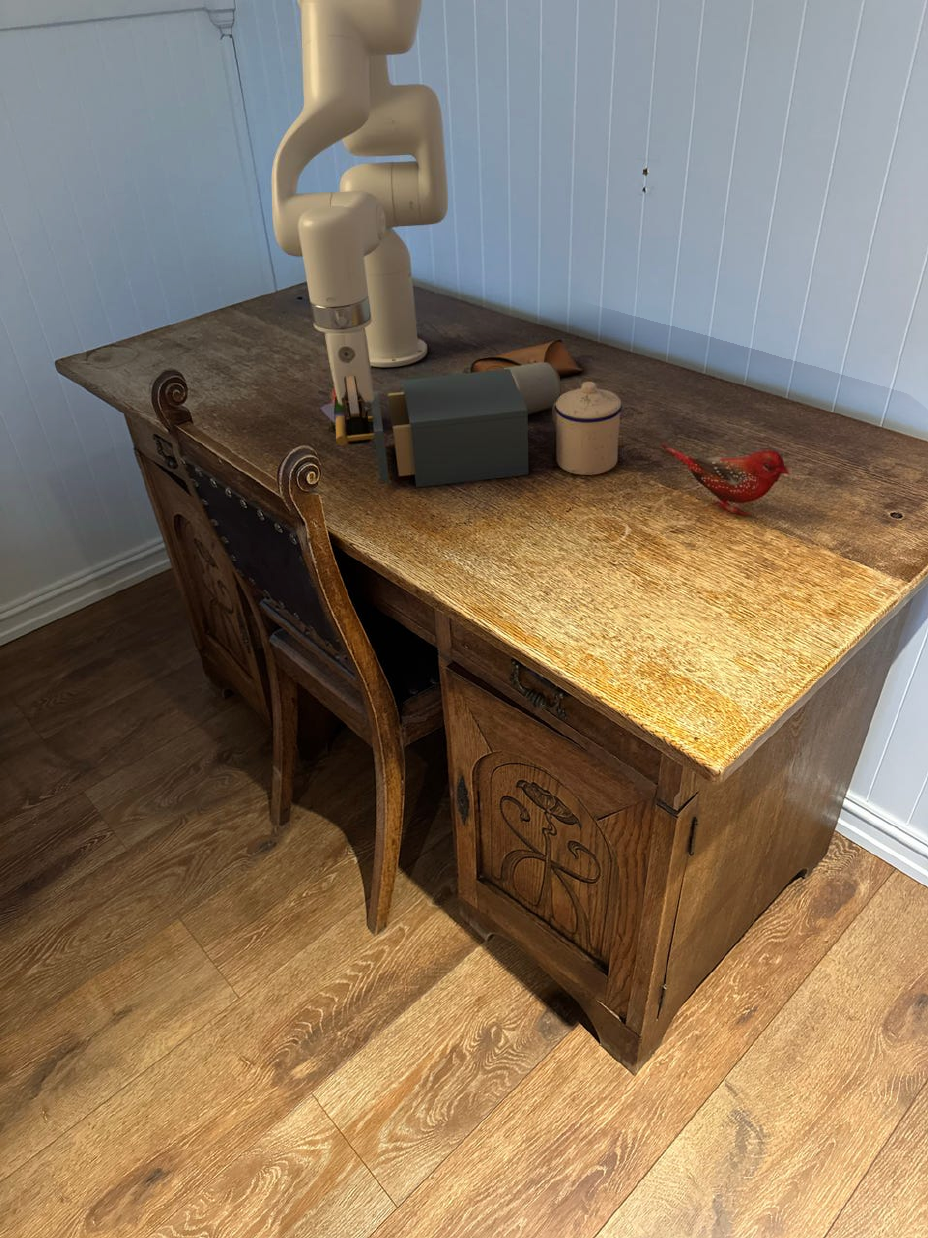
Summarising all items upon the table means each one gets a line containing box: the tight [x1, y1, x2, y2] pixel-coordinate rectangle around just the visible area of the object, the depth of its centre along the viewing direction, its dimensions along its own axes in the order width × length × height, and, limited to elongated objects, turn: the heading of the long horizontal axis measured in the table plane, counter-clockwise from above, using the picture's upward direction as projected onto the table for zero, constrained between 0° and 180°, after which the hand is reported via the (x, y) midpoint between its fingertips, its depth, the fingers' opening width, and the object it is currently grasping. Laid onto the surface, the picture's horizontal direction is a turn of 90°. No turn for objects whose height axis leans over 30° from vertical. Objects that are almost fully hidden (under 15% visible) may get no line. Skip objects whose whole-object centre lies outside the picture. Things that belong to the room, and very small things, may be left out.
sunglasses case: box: [470, 339, 584, 379], centre depth 152 cm, size 18×7×7 cm
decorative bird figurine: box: [661, 444, 790, 517], centre depth 114 cm, size 3×18×10 cm, turn 47°
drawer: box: [335, 390, 415, 484], centre depth 128 cm, size 20×13×8 cm, turn 97°
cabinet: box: [401, 369, 529, 488], centre depth 128 cm, size 16×14×10 cm
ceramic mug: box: [504, 362, 562, 415], centre depth 141 cm, size 11×8×8 cm
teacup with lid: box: [551, 381, 623, 476], centre depth 126 cm, size 12×9×12 cm
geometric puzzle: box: [318, 384, 371, 431], centre depth 139 cm, size 7×7×8 cm
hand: (359, 440), depth 127 cm, fingers closed
